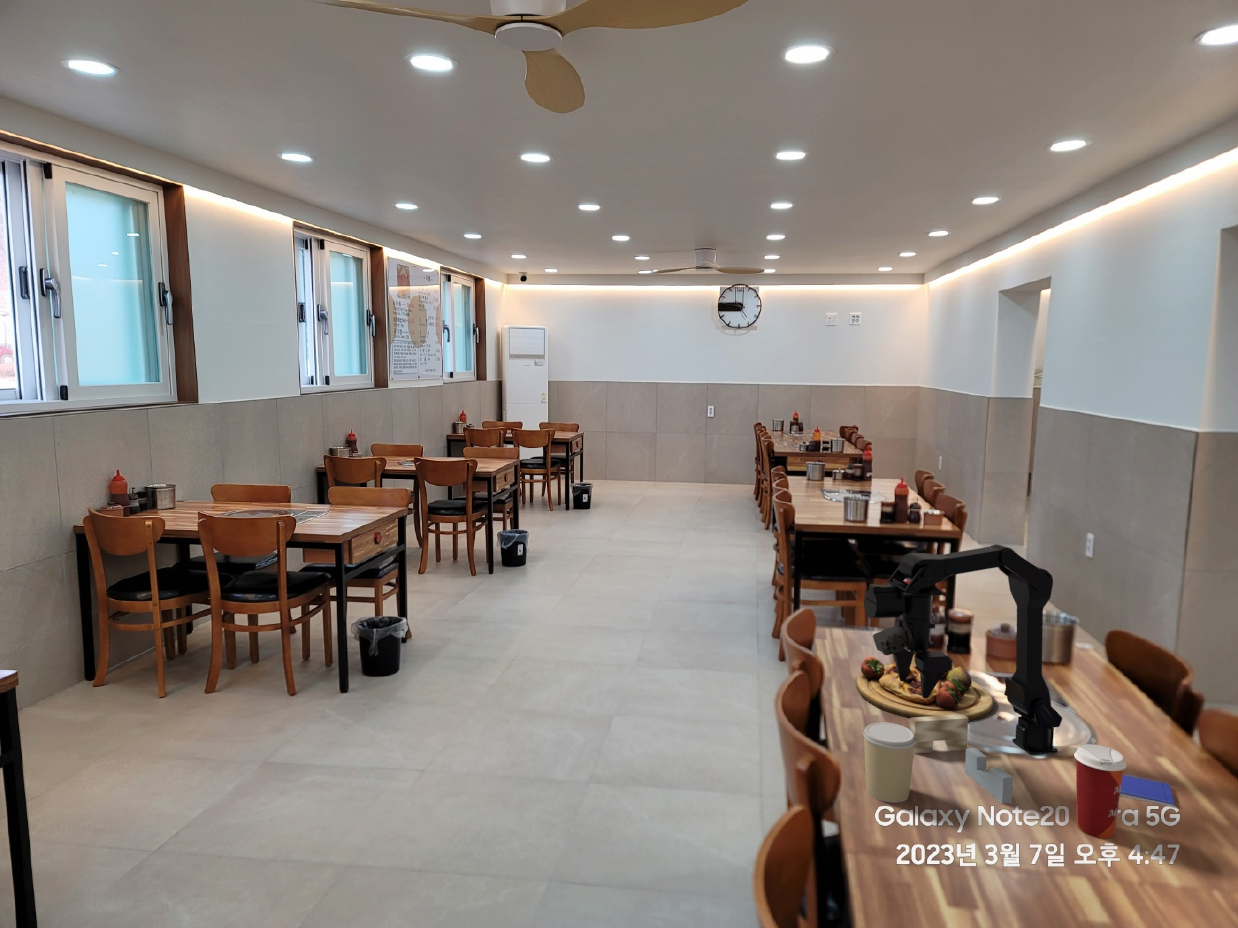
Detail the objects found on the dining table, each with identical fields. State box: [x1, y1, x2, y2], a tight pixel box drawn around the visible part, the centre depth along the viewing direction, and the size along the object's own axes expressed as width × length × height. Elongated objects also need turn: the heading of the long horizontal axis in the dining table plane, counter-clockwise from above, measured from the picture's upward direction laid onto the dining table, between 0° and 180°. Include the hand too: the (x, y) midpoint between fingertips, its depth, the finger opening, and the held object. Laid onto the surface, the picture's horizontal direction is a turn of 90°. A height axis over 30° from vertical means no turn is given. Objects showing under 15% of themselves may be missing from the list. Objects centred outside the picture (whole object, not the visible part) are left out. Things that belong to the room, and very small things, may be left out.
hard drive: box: [1120, 774, 1175, 808], centre depth 152 cm, size 2×8×12 cm
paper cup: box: [1073, 743, 1127, 839], centre depth 138 cm, size 8×8×14 cm
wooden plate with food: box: [855, 656, 995, 722], centre depth 197 cm, size 32×32×8 cm
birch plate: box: [909, 714, 969, 755], centre depth 168 cm, size 12×2×7 cm, turn 98°
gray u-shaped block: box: [964, 747, 1014, 805], centre depth 152 cm, size 2×12×5 cm, turn 8°
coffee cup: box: [863, 721, 916, 804], centre depth 150 cm, size 9×9×12 cm
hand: (913, 689), depth 164 cm, fingers open, 9 cm apart
